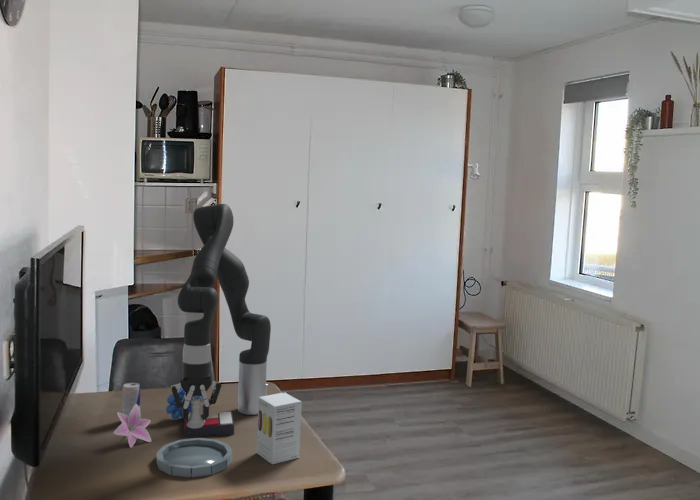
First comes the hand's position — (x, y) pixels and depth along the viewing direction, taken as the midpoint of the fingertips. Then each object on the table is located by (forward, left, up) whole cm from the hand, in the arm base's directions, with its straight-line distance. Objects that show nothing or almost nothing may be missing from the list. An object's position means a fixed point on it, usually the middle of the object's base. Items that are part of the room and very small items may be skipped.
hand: (195, 419), depth 184 cm
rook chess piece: (0, 0, -2) cm, 2 cm away
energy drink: (+14, -35, -12) cm, 39 cm away
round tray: (0, 0, -12) cm, 12 cm away
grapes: (-2, -34, -12) cm, 36 cm away
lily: (+15, -18, -12) cm, 27 cm away
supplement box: (-23, +3, -12) cm, 26 cm away
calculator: (-8, -22, -12) cm, 27 cm away
